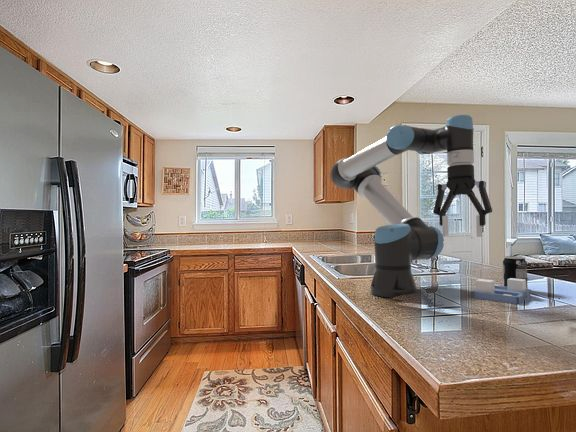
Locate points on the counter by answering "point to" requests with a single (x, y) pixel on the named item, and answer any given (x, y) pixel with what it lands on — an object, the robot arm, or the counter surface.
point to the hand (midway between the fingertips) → (461, 236)
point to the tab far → (516, 284)
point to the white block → (485, 286)
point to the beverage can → (514, 269)
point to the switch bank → (503, 295)
